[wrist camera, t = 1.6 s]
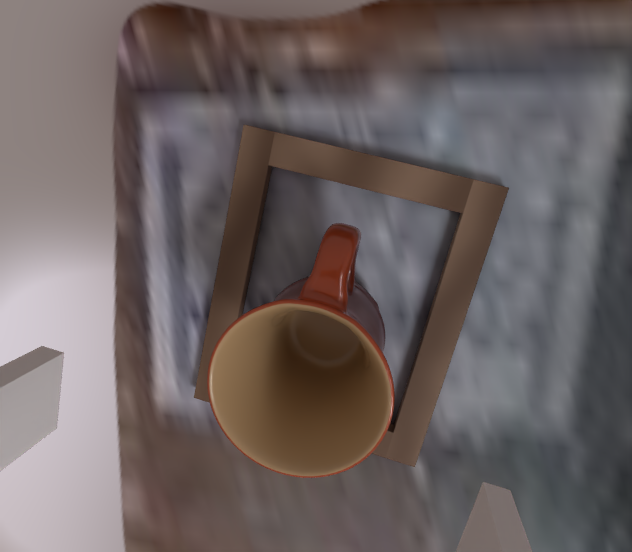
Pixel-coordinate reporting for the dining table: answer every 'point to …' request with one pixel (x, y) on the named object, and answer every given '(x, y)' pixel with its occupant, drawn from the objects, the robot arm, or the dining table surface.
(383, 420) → the mug
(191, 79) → the dining table surface
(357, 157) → the frame
